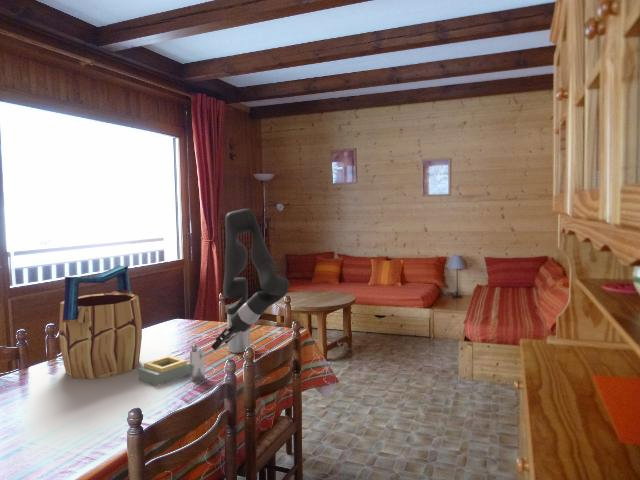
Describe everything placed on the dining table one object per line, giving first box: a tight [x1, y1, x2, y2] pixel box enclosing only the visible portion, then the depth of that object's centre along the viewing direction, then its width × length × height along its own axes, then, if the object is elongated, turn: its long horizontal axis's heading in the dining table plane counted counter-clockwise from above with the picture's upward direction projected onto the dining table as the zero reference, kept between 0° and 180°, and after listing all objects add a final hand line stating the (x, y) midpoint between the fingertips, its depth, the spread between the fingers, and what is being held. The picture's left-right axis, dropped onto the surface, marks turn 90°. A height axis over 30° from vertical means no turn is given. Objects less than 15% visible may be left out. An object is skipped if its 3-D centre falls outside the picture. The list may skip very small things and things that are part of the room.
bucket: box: [58, 265, 143, 380], centre depth 191 cm, size 39×31×40 cm
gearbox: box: [137, 355, 191, 386], centre depth 183 cm, size 20×12×6 cm, turn 143°
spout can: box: [189, 343, 206, 382], centre depth 177 cm, size 5×5×13 cm
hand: (219, 344), depth 174 cm, fingers open, 8 cm apart
